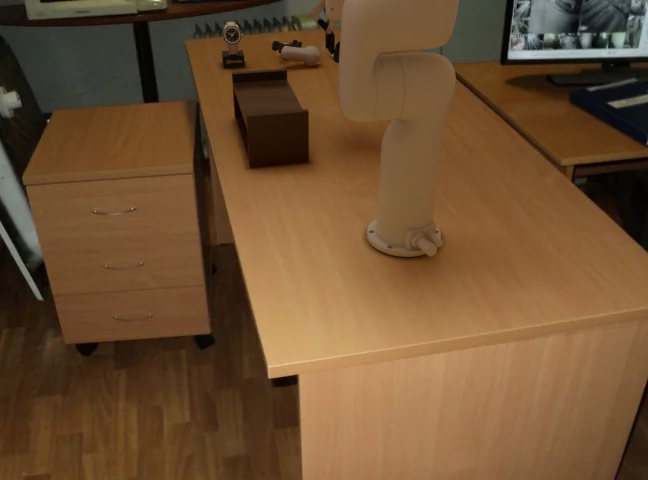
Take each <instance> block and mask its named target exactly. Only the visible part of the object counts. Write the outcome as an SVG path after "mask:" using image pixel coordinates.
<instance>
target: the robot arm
mask: <svg viewBox="0 0 648 480" xmlns="http://www.w3.org/2000/svg"><path fill="white" fill-rule="evenodd" d="M459 3H460V0H319V2H318V3H317V4H316V5H315V6H314V7H313V8H312V9H311V10H310V11H309V16H310V18H312V20H314V21H315V23H316V24H317V25H318V26H319V27H320V28H322V30H323V31H324V32H325V33H324V36H325V38H324V43H325V49H326V50H327V51H328V52H329V54H330V55H331V54H333V55H334V50H335V46H336V43H335V42H336V39H335V38H336V35H335V32H334V29H335V26H336V25H337V22H340V40H339V42H340V54H339V63H338V70H337V71H338V73H337V100H338V107H339V109H340V112H341V114H342V115H343V116H344V118H345V119H346V120H348V121H351V122H355V123H373V122H384V121H385V122H386V121H390V123H389V125H388V126H387V128H386V130H385V132H384V134H383V136H382V140H381V145H380V160H379V173H378V175H379V176H378V191H377V209H376V210H377V211H376V218H374V219H373V220H372V221H371V222H370V223H369V224H368V225H367V228H366V238H367V241H368V243H369V244H370V245H371V246H372V247H374V248H375V249H376V250H378V251H380V252H382V253H384V254H387V255H391V256H395V257H402V258H405V257H407V258H408V257H409V258H413V257H414V258H415V257H419V256H424V255H426V256H428V257H433V256H435V255H436V254H437V252H438V248H441V247H442V246H443V245H444V240H443V239H442V232H441V230H440V229H441V228H439V226H438V225H437V224H438V223H436V222H435V212H436V211H435V210H436V202H437V195H438V185H439V175H440V166H441V158H442V152H443V143H444V136H445V135H444V134H445V129H446V124H447V120H448V116H449V113H450V110H451V107H452V103H453V100H454V97H455V92H456V85H457V76H456V75H457V74H456V71H455V68H454V65H453V63H452V62H451V61H450V60H449V59H448V58H447V57H446V56H444V55H442V54H439V53H436V52H430V51H425V50H432V49H437V48H440V47H443V46H445V45H446V44H447V43H448V42H449V41H450V39H451V38H452V35H453V33H454V29H455V25H456V19H457V15H458V10H459V5H460V4H459ZM322 12H323V13H324V15H326V16H325V17H326V20H324V19H323V18H322V17H321V16H320V14H321V13H322ZM383 53H387V54H383ZM388 53H389V54H388Z"/></svg>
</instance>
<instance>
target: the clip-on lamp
mask: <svg viewBox="0 0 648 480" xmlns="http://www.w3.org/2000/svg"><path fill="white" fill-rule="evenodd" d="M325 49H326V47H325V42H323V47H322V51H321V53H320V51H319V49H318V47H316V46H314V45H308V46H306V47H303V42H302V41H298V39H293V40H292V42H290V41H283V40H282V41H280V40H273V41H272V44H271V50H272V51H273V52H276V54H277V57H278V58H279V59H280V58H281V57H282V58H283V59H284V60H289V61H295V62H296V61H297V62H301V63H303V64H304V65H306V66H308V67H315V66H316V65H317V64H318V63H319V62H320V60H321V57H322V56H323V54H324V51H325ZM279 54H280V55H279ZM330 55H331V57H332V58H333V59H334V54H330Z"/></svg>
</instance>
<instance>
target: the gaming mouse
mask: <svg viewBox="0 0 648 480" xmlns="http://www.w3.org/2000/svg"><path fill="white" fill-rule="evenodd" d="M339 54H340V41H338V42H337V43H335V50H334V54H333V56H334V58H333V61H334V63H336V64H339Z"/></svg>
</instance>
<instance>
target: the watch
mask: <svg viewBox="0 0 648 480" xmlns="http://www.w3.org/2000/svg"><path fill="white" fill-rule="evenodd" d="M243 38H244V33H242V30H241V29H240V28H239V25H238V24H236V21H226V22H225V25H224V29H223V31H222V39H223V41H224V44H225V46H226V48H227V50H222V51H221V58H222V59H221V60H222V66H223V69H239V68H240V69H241V68H246V65H245V54H244V50H243V49H239V48H240V46H241V41H242V39H243Z"/></svg>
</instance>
